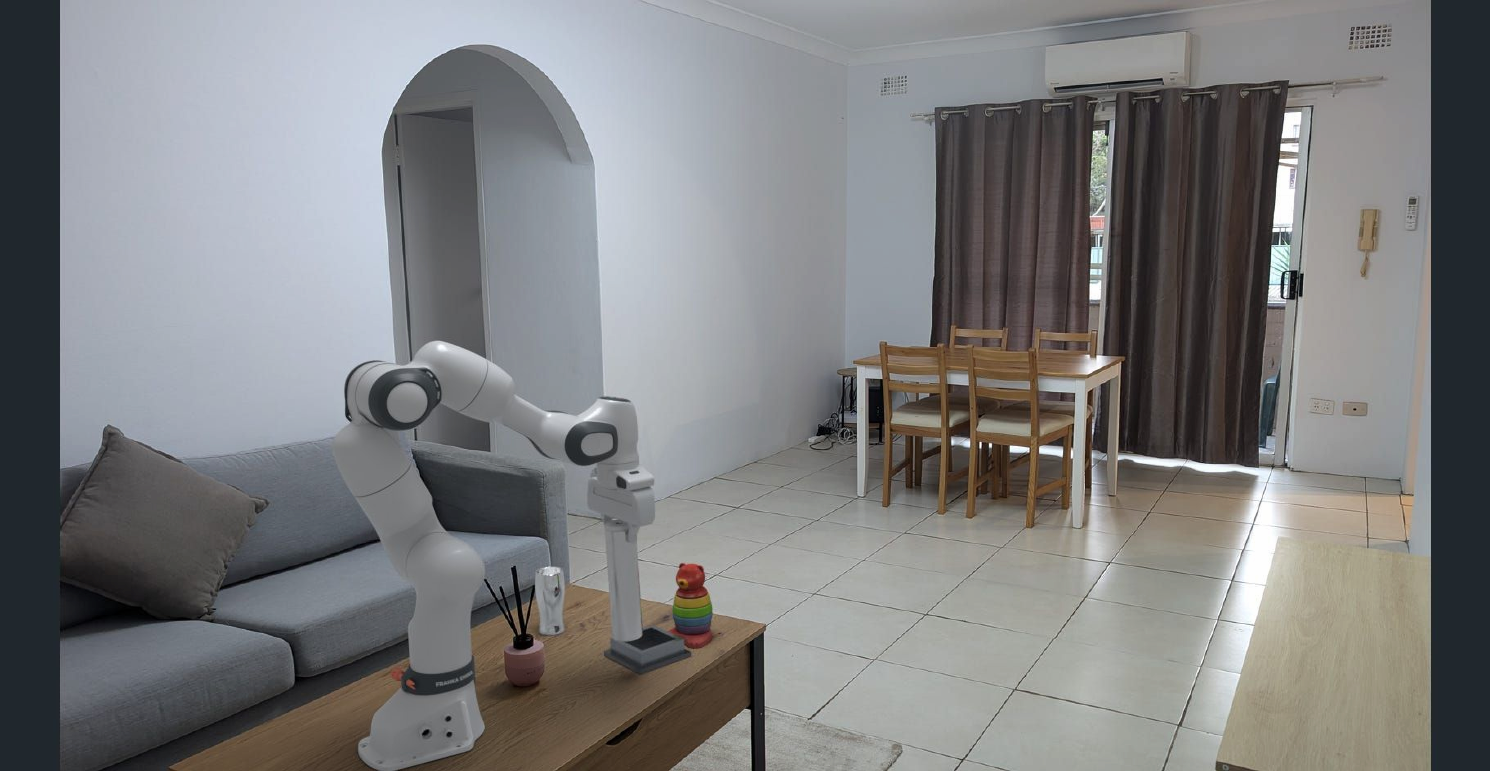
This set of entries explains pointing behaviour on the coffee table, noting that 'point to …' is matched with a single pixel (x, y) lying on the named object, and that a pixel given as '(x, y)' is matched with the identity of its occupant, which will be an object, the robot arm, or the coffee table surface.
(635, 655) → the collar
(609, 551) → the grey cylinder
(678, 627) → the stacking bear
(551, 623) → the beer glass
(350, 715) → the coffee table surface
